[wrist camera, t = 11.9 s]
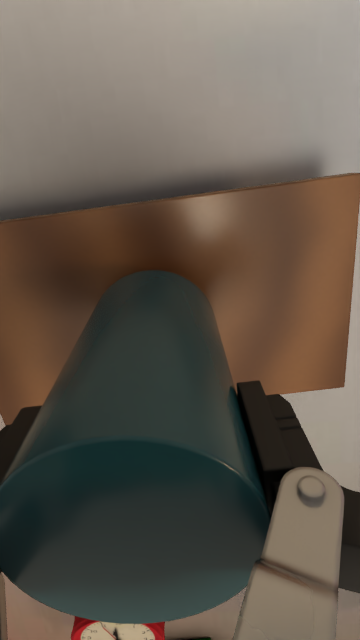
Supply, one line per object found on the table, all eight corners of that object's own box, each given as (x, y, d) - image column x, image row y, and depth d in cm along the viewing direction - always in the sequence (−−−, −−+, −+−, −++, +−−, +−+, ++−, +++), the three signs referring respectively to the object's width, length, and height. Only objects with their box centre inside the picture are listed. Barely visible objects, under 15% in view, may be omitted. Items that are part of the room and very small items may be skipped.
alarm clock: (68, 670, 37) (47, 635, 28) (81, 597, 42) (68, 547, 33) (165, 672, 37) (176, 638, 28) (167, 599, 42) (177, 551, 33)
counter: (34, 380, 26) (5, 426, 22) (-24, 218, 21) (-78, 233, 17) (313, 347, 25) (344, 387, 21) (320, 171, 20) (362, 172, 16)
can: (107, 386, 19) (35, 635, 9) (79, 278, 16) (-66, 458, 6) (220, 372, 19) (275, 613, 9) (209, 261, 16) (271, 419, 6)
